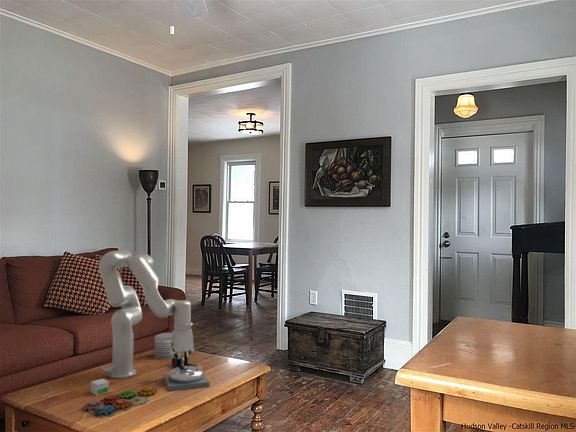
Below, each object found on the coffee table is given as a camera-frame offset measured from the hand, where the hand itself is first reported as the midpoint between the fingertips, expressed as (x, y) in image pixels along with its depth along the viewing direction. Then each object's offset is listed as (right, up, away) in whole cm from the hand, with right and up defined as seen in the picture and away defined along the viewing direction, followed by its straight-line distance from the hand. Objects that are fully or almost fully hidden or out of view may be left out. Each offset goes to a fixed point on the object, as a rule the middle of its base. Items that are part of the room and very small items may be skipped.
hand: (181, 365), depth 220 cm
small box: (-31, -6, -19) cm, 37 cm away
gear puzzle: (-16, -6, -29) cm, 34 cm away
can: (-18, -7, +37) cm, 41 cm away
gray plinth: (+3, -6, -5) cm, 8 cm away
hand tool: (-3, -7, +15) cm, 17 cm away
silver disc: (+3, -4, -5) cm, 7 cm away
